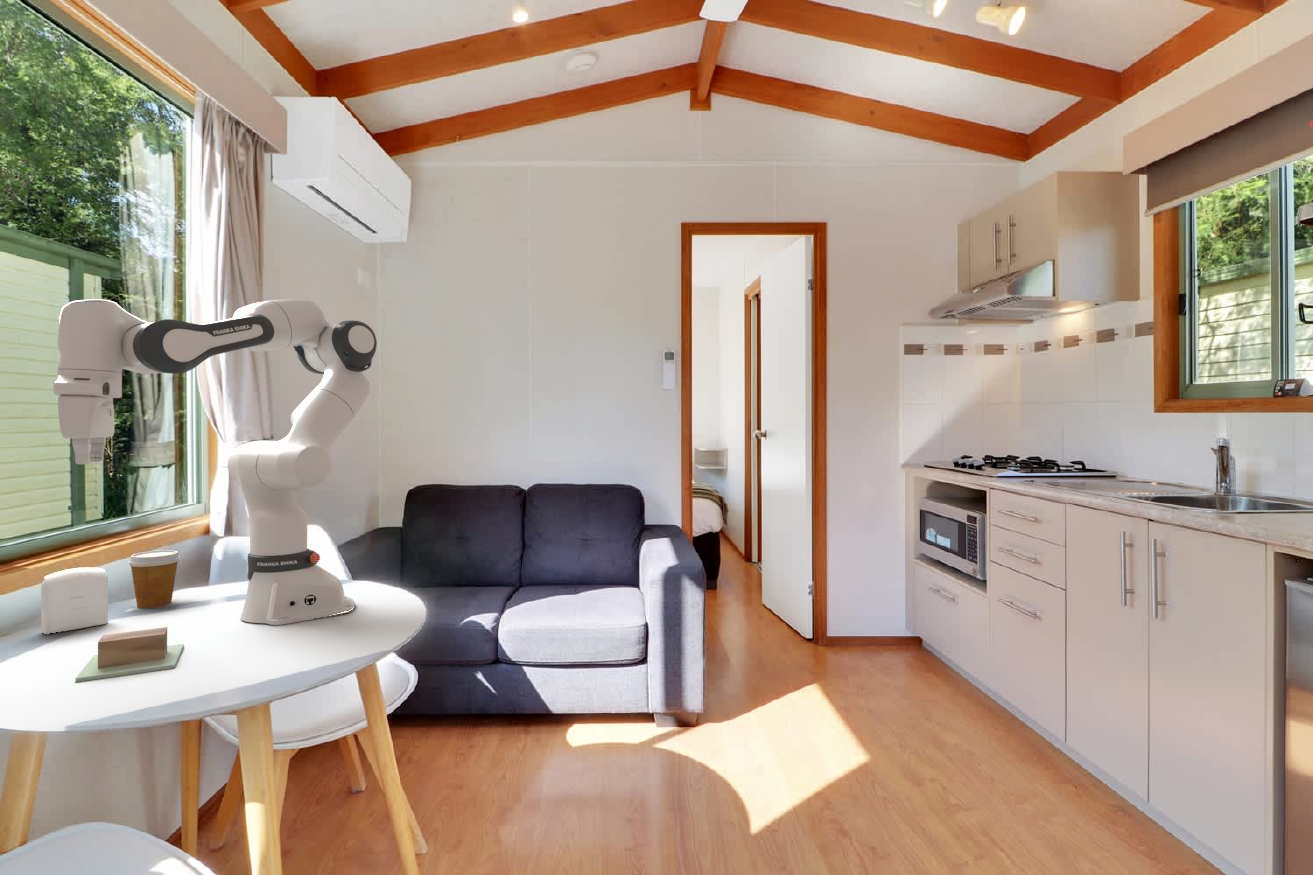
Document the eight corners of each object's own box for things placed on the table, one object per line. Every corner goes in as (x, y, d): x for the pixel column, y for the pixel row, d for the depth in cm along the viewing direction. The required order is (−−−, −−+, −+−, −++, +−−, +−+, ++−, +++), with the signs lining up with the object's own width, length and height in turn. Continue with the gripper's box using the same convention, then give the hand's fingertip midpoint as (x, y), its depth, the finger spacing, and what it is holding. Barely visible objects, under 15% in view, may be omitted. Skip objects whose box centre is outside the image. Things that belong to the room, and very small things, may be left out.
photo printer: (42, 636, 125) (42, 574, 125) (39, 631, 128) (39, 570, 128) (110, 624, 133) (110, 566, 133) (106, 620, 136) (106, 563, 136)
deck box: (102, 660, 111) (102, 634, 111) (167, 651, 116) (167, 626, 116) (97, 668, 108) (97, 642, 107) (164, 658, 112) (164, 633, 112)
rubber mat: (183, 646, 120) (183, 643, 120) (174, 667, 110) (174, 664, 110) (93, 658, 114) (93, 655, 114) (75, 681, 103) (75, 678, 103)
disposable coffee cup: (155, 598, 153) (155, 549, 153) (190, 600, 152) (190, 550, 152) (116, 609, 144) (117, 556, 144) (153, 611, 143) (153, 558, 143)
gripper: (82, 389, 123) (82, 460, 123) (49, 383, 106) (49, 466, 106) (124, 390, 126) (124, 460, 126) (99, 385, 109) (98, 465, 109)
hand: (89, 462), depth 116 cm, fingers open, 8 cm apart
